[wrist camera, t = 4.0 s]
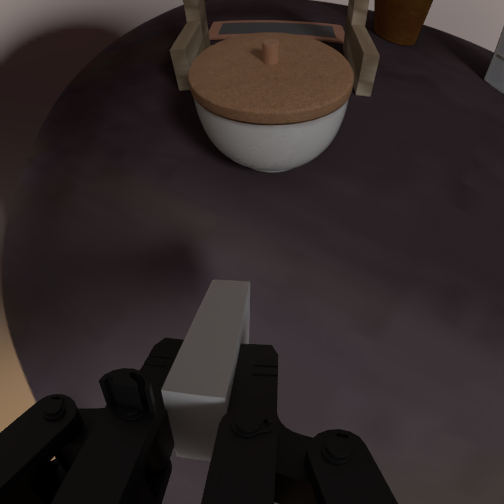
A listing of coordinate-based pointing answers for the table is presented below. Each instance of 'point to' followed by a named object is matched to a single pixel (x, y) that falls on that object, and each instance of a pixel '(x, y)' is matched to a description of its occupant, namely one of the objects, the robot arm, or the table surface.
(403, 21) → the disposable coffee cup
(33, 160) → the table surface
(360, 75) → the tunnel
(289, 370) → the table surface
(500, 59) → the syrup box
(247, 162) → the lidded jar
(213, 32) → the framed chalkboard
